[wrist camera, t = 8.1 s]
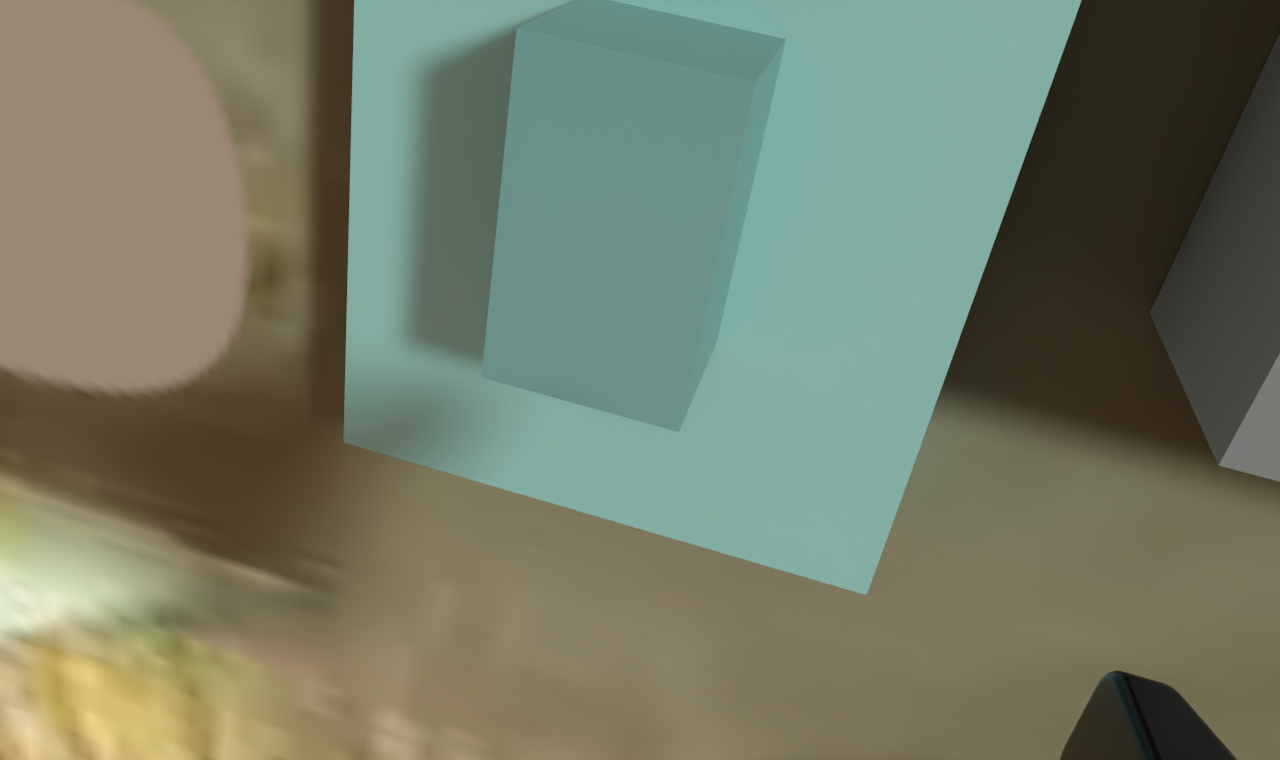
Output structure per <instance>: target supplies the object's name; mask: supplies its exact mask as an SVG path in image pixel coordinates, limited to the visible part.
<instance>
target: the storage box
mask: <svg viewBox="0 0 1280 760" xmlns="http://www.w3.org/2000/svg"><path fill="white" fill-rule="evenodd" d="M1150 315H1151V318H1152V320H1153V322H1154V324H1155V326H1156V329H1157V331H1158V333H1159V335H1160V337H1161V340H1162V342H1163V344H1164V346H1165V349H1166V351H1167V353H1168V355H1169V357H1170V360H1171V362H1172V364H1173V366H1174V368H1175V371H1176V373H1177V375H1178V377H1179V379H1180V382H1181V384H1182V386H1183V388H1184V391H1185V393H1186V395H1187V397H1188V399H1189V402H1190V404H1191V406H1192V408H1193V410H1194V413H1195V415H1196V417H1197V419H1198V421H1199V424H1200V426H1201V428H1202V430H1203V433H1204V435H1205V437H1206V439H1207V441H1208V444H1209V446H1210V448H1211V450H1212V452H1213V455H1214V457H1215V459H1216V461H1217V464H1218V466H1222V467H1226V468H1230V469H1233V470H1237V471H1241V472H1245V473H1248V474H1252V475H1256V476H1260V477H1263V478H1267V479H1271V480H1275V481H1279V482H1280V33H1279V35H1278V37H1277V39H1276V42H1275V44H1274V46H1273V48H1272V50H1271V52H1270V55H1269V57H1268V59H1267V61H1266V63H1265V65H1264V68H1263V70H1262V72H1261V74H1260V76H1259V78H1258V80H1257V83H1256V85H1255V87H1254V89H1253V91H1252V93H1251V96H1250V98H1249V100H1248V102H1247V104H1246V106H1245V109H1244V111H1243V113H1242V115H1241V117H1240V119H1239V121H1238V124H1237V126H1236V128H1235V130H1234V132H1233V134H1232V137H1231V139H1230V141H1229V143H1228V145H1227V147H1226V150H1225V152H1224V154H1223V156H1222V158H1221V160H1220V162H1219V165H1218V167H1217V169H1216V171H1215V173H1214V175H1213V178H1212V180H1211V182H1210V184H1209V186H1208V188H1207V191H1206V193H1205V195H1204V197H1203V199H1202V201H1201V203H1200V206H1199V208H1198V210H1197V212H1196V214H1195V216H1194V219H1193V221H1192V223H1191V225H1190V227H1189V229H1188V231H1187V234H1186V236H1185V238H1184V240H1183V242H1182V244H1181V247H1180V249H1179V251H1178V253H1177V255H1176V257H1175V260H1174V262H1173V264H1172V266H1171V268H1170V270H1169V272H1168V275H1167V277H1166V279H1165V281H1164V283H1163V285H1162V288H1161V290H1160V292H1159V294H1158V296H1157V298H1156V301H1155V303H1154V305H1153V307H1152V309H1151V311H1150Z"/></svg>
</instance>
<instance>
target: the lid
mask: <svg viewBox="0 0 1280 760" xmlns="http://www.w3.org/2000/svg"><path fill="white" fill-rule="evenodd" d="M1081 1H1082V0H354V34H353V74H352V115H351V156H350V197H349V238H348V279H347V320H346V361H345V402H344V443H347V444H350V445H354V446H357V447H361V448H364V449H368V450H371V451H374V452H378V453H381V454H385V455H388V456H392V457H395V458H398V459H402V460H405V461H409V462H412V463H416V464H419V465H422V466H426V467H429V468H433V469H436V470H440V471H443V472H446V473H450V474H453V475H457V476H460V477H464V478H467V479H470V480H474V481H477V482H481V483H484V484H488V485H491V486H494V487H498V488H501V489H505V490H508V491H512V492H515V493H518V494H522V495H525V496H529V497H532V498H536V499H539V500H542V501H546V502H549V503H553V504H556V505H560V506H563V507H566V508H570V509H573V510H577V511H580V512H584V513H587V514H590V515H594V516H597V517H601V518H604V519H608V520H611V521H614V522H618V523H621V524H625V525H628V526H632V527H635V528H638V529H642V530H645V531H649V532H652V533H656V534H659V535H662V536H666V537H669V538H673V539H676V540H680V541H683V542H686V543H690V544H693V545H697V546H700V547H704V548H707V549H710V550H714V551H717V552H721V553H724V554H728V555H731V556H734V557H738V558H741V559H745V560H748V561H752V562H755V563H758V564H762V565H765V566H769V567H772V568H776V569H779V570H782V571H786V572H789V573H793V574H796V575H800V576H803V577H806V578H810V579H813V580H817V581H820V582H824V583H827V584H830V585H834V586H837V587H841V588H844V589H848V590H851V591H854V592H858V593H861V594H865V595H867V592H868V590H869V587H870V584H871V581H872V579H873V576H874V573H875V570H876V568H877V565H878V562H879V559H880V556H881V554H882V551H883V548H884V545H885V543H886V540H887V537H888V534H889V532H890V529H891V526H892V523H893V521H894V518H895V515H896V512H897V509H898V507H899V504H900V501H901V498H902V496H903V493H904V490H905V487H906V485H907V482H908V479H909V476H910V474H911V471H912V468H913V465H914V462H915V460H916V457H917V454H918V451H919V449H920V446H921V443H922V440H923V438H924V435H925V432H926V429H927V427H928V424H929V421H930V418H931V415H932V413H933V410H934V407H935V404H936V402H937V399H938V396H939V393H940V391H941V388H942V385H943V382H944V380H945V377H946V374H947V371H948V368H949V366H950V363H951V360H952V357H953V355H954V352H955V349H956V346H957V344H958V341H959V338H960V335H961V333H962V330H963V327H964V324H965V321H966V319H967V316H968V313H969V310H970V308H971V305H972V302H973V299H974V297H975V294H976V291H977V288H978V286H979V283H980V280H981V277H982V274H983V272H984V269H985V266H986V263H987V261H988V258H989V255H990V252H991V250H992V247H993V244H994V241H995V239H996V236H997V233H998V230H999V227H1000V225H1001V222H1002V219H1003V216H1004V214H1005V211H1006V208H1007V205H1008V203H1009V200H1010V197H1011V194H1012V192H1013V189H1014V186H1015V183H1016V180H1017V178H1018V175H1019V172H1020V169H1021V167H1022V164H1023V161H1024V158H1025V156H1026V153H1027V150H1028V147H1029V145H1030V142H1031V139H1032V136H1033V133H1034V131H1035V128H1036V125H1037V122H1038V120H1039V117H1040V114H1041V111H1042V109H1043V106H1044V103H1045V100H1046V98H1047V95H1048V92H1049V89H1050V86H1051V84H1052V81H1053V78H1054V75H1055V73H1056V70H1057V67H1058V64H1059V62H1060V59H1061V56H1062V53H1063V51H1064V48H1065V45H1066V42H1067V39H1068V37H1069V34H1070V31H1071V28H1072V26H1073V23H1074V20H1075V17H1076V15H1077V12H1078V9H1079V6H1080V3H1081Z"/></svg>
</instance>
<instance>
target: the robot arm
mask: <svg viewBox="0 0 1280 760" xmlns="http://www.w3.org/2000/svg"><path fill="white" fill-rule="evenodd" d="M1060 760H1237V759H1236V758H1235V757H1234V755H1233V754H1232V753H1231V752H1230V751H1229V750H1228V749H1227V747H1226V746H1225V745H1224V744H1223V743H1222V742H1221V741H1220V739H1219V738H1218V737H1217V736H1216V735H1215V734H1214V733H1213V731H1212V730H1211V729H1210V728H1209V727H1208V726H1207V725H1206V723H1205V722H1204V721H1203V720H1202V719H1201V718H1200V717H1199V715H1198V714H1197V713H1196V712H1195V711H1194V710H1193V709H1192V707H1191V706H1190V705H1189V704H1188V703H1187V702H1186V701H1185V699H1184V698H1183V697H1182V696H1181V695H1180V694H1179V693H1178V692H1177V691H1176V690H1175V689H1174V688H1172V687H1171V686H1169V685H1167V684H1164V683H1161V682H1157V681H1154V680H1150V679H1147V678H1143V677H1140V676H1137V675H1133V674H1130V673H1126V672H1123V671H1114V672H1110V673H1107V674H1106V675H1105V676H1104V677H1103V678H1102V679H1101V680H1100V682H1099V683H1098V685H1097V687H1096V688H1095V690H1094V692H1093V694H1092V696H1091V698H1090V700H1089V702H1088V704H1087V705H1086V707H1085V709H1084V711H1083V713H1082V715H1081V717H1080V719H1079V720H1078V722H1077V724H1076V726H1075V728H1074V730H1073V732H1072V734H1071V736H1070V737H1069V739H1068V741H1067V743H1066V745H1065V747H1064V749H1063V752H1062V755H1061V758H1060Z"/></svg>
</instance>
